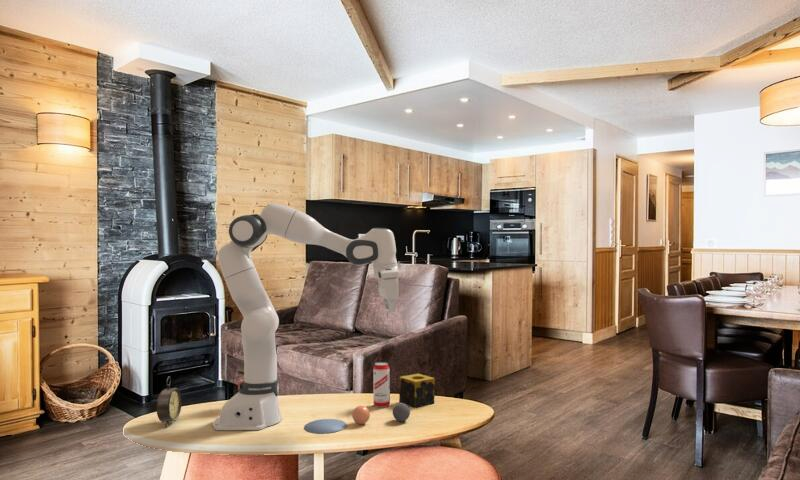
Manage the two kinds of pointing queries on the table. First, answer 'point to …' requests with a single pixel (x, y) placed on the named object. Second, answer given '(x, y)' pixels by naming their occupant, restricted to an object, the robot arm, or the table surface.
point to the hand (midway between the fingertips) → (389, 310)
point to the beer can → (381, 385)
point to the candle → (416, 390)
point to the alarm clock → (169, 404)
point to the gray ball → (401, 412)
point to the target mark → (325, 426)
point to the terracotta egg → (361, 414)
